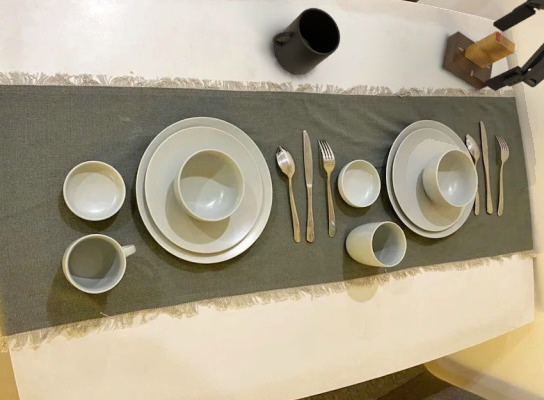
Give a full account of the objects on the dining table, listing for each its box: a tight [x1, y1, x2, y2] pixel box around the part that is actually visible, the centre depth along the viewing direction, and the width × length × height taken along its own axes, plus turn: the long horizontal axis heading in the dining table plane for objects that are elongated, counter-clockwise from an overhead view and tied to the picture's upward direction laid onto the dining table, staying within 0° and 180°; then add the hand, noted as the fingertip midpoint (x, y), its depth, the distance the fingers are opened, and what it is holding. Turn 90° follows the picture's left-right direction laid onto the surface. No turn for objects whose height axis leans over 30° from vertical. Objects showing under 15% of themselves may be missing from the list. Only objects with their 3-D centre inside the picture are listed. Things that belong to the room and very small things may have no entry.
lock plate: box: [442, 30, 494, 91], centre depth 114 cm, size 12×10×3 cm
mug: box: [271, 7, 341, 76], centre depth 91 cm, size 9×12×9 cm
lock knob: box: [465, 30, 516, 68], centre depth 109 cm, size 6×2×8 cm, turn 70°
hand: (493, 56), depth 89 cm, fingers open, 13 cm apart
